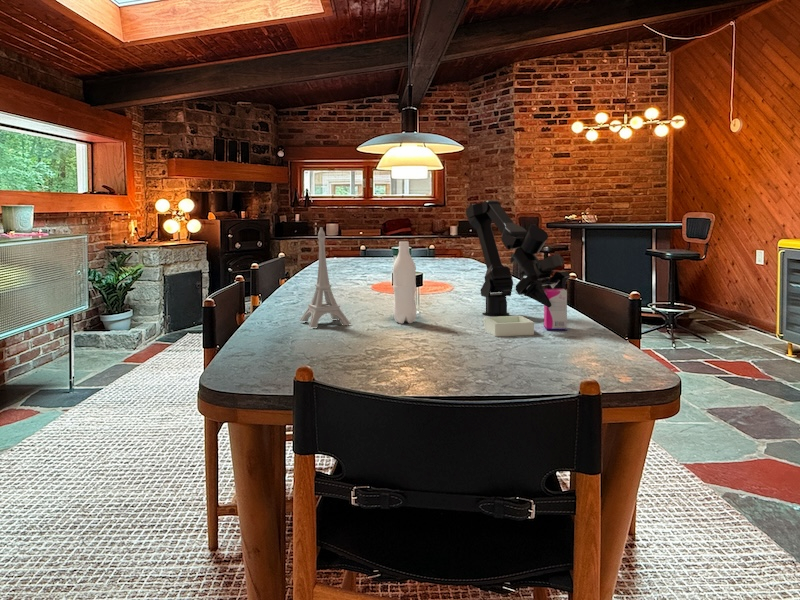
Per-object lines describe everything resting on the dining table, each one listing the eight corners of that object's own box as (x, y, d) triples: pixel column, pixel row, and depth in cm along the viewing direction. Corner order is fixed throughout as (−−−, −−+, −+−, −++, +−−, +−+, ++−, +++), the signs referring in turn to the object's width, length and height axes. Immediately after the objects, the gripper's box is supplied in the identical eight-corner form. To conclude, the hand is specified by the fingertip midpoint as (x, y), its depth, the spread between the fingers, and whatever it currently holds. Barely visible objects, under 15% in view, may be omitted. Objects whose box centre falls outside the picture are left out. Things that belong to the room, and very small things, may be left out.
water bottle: (414, 324, 194) (413, 242, 190) (391, 324, 195) (389, 242, 191) (418, 320, 201) (417, 240, 197) (396, 319, 202) (394, 241, 198)
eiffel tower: (298, 322, 201) (294, 227, 196) (338, 319, 206) (335, 226, 202) (309, 330, 189) (305, 228, 184) (352, 325, 194) (349, 227, 190)
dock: (484, 328, 185) (484, 317, 184) (520, 327, 186) (521, 315, 186) (495, 336, 174) (495, 323, 173) (533, 334, 175) (534, 322, 175)
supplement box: (563, 326, 186) (564, 288, 184) (566, 330, 180) (567, 290, 178) (543, 326, 186) (544, 288, 185) (546, 330, 181) (546, 290, 179)
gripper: (523, 247, 177) (555, 289, 170) (565, 243, 189) (596, 283, 181) (502, 273, 184) (531, 315, 177) (544, 268, 196) (573, 307, 189)
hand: (559, 304), depth 181 cm, fingers closed on supplement box, 8 cm apart
